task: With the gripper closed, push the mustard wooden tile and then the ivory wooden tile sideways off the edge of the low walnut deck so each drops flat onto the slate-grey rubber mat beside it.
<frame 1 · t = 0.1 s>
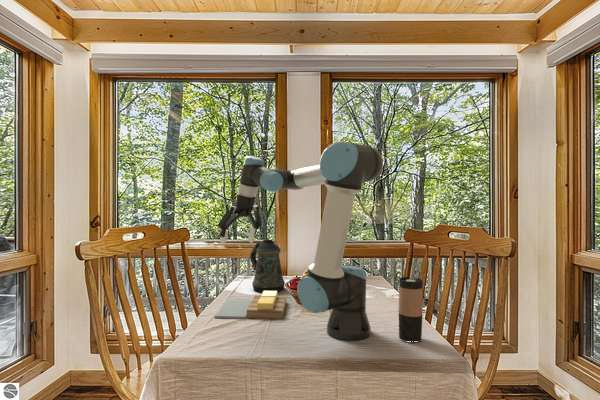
hand: (236, 243, 157), 28 cm above the table, tool tilted 20°, fingers open, 13 cm apart
mustard tile: (266, 306, 152), point 3 cm above the table, touching walnut deck
ivory tile: (269, 299, 163), point 3 cm above the table, touching walnut deck
beer stein: (265, 289, 192), on the table
slate mat: (236, 309, 158), on the table
walnut deck: (267, 309, 157), on the table
travel mug: (410, 339, 126), on the table
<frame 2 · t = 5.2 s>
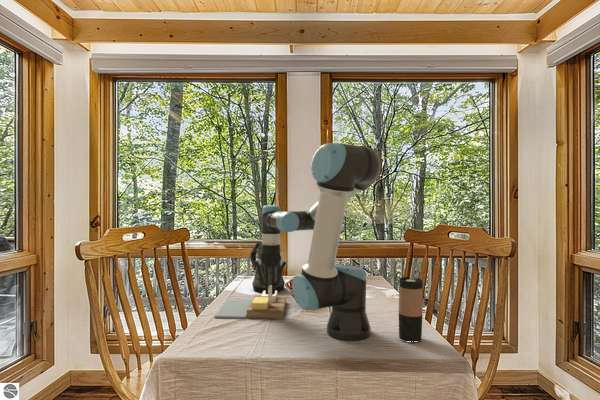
hand: (270, 302, 152), 5 cm above the table, tool pointing down, fingers closed
mustard tile: (260, 306, 152), point 3 cm above the table, touching walnut deck
everything else where it was.
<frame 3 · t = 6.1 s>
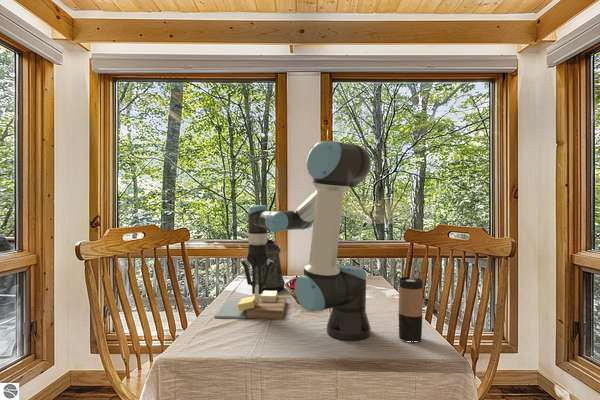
hand: (257, 302, 152), 5 cm above the table, tool pointing down, fingers closed
mustard tile: (248, 306, 152), point 3 cm above the table, tilted 13°, touching gripper
everything else where it was.
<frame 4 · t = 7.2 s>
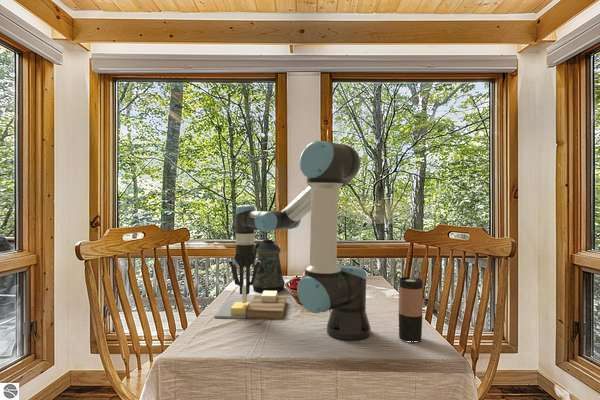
hand: (244, 302, 152), 5 cm above the table, tool pointing down, fingers closed
mustard tile: (240, 311, 152), point 1 cm above the table, touching slate mat
everything else where it was.
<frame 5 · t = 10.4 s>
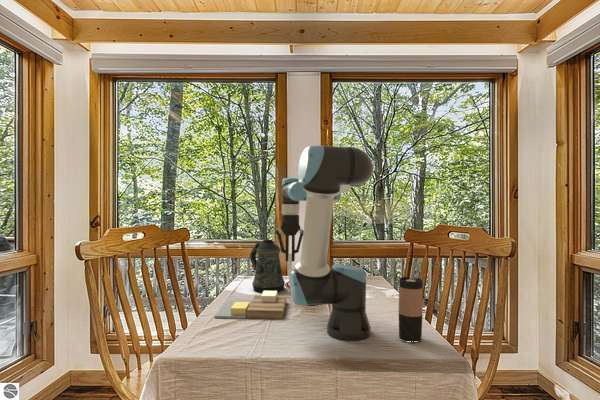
hand: (290, 268, 162), 16 cm above the table, tool pointing down, fingers closed
nothing on the table moved.
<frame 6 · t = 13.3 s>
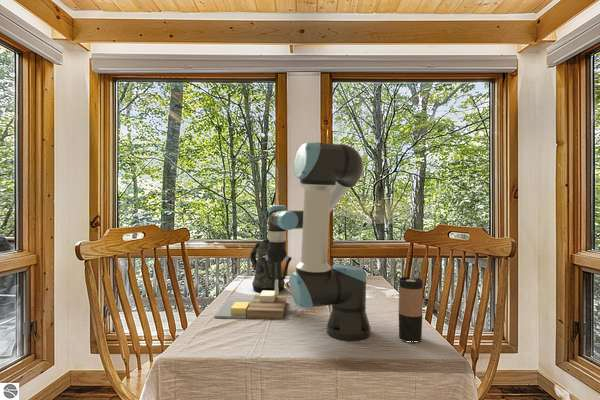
hand: (276, 295, 163), 5 cm above the table, tool pointing down, fingers closed
ivory tile: (267, 298, 163), point 3 cm above the table, touching gripper, walnut deck
everything else where it was.
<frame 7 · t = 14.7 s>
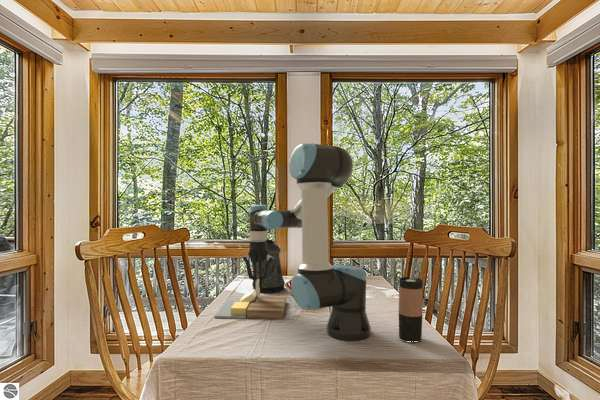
hand: (257, 295, 163), 5 cm above the table, tool pointing down, fingers closed
ivory tile: (250, 299, 163), point 2 cm above the table, tilted 32°, touching slate mat
everything else where it was.
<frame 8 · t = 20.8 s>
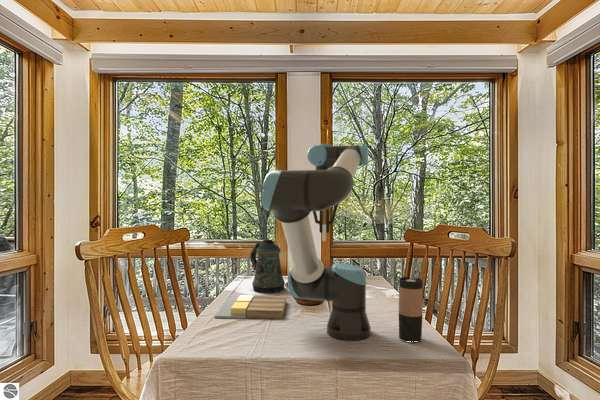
hand: (324, 240, 153), 29 cm above the table, tool pointing down, fingers closed
ivory tile: (245, 303, 163), point 1 cm above the table, touching slate mat
everything else where it was.
at the end: mustard tile inside the target area (2.8 cm from its centre), point 0.8 cm above the table; ivory tile inside the target area (2.8 cm from its centre), point 0.8 cm above the table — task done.
